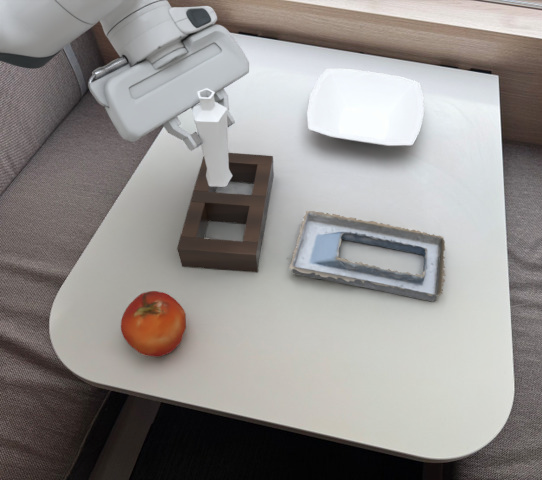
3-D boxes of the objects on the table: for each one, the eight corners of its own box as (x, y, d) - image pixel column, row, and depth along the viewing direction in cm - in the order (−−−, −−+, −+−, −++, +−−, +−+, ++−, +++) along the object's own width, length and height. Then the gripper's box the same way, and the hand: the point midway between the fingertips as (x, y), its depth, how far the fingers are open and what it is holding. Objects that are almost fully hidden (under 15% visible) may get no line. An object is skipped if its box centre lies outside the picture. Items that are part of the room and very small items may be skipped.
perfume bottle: (210, 163, 78) (196, 79, 67) (237, 171, 78) (228, 86, 66) (197, 184, 76) (179, 100, 64) (224, 192, 75) (212, 108, 63)
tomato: (175, 371, 74) (164, 346, 68) (116, 354, 76) (100, 328, 69) (201, 317, 80) (193, 289, 74) (146, 301, 81) (134, 273, 75)
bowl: (415, 171, 101) (420, 150, 97) (298, 153, 103) (298, 131, 99) (421, 101, 115) (427, 79, 110) (318, 86, 117) (319, 63, 112)
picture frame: (304, 219, 93) (305, 208, 91) (444, 242, 91) (448, 232, 89) (288, 280, 85) (288, 270, 82) (441, 307, 83) (445, 297, 80)
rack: (257, 272, 85) (256, 254, 81) (181, 266, 85) (176, 248, 81) (273, 175, 99) (272, 155, 95) (208, 170, 99) (204, 150, 95)
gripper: (85, 68, 58) (159, 173, 62) (221, 2, 68) (277, 96, 72) (75, 84, 63) (143, 180, 67) (202, 21, 73) (255, 108, 77)
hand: (213, 136), depth 70 cm, fingers closed on perfume bottle, 4 cm apart
